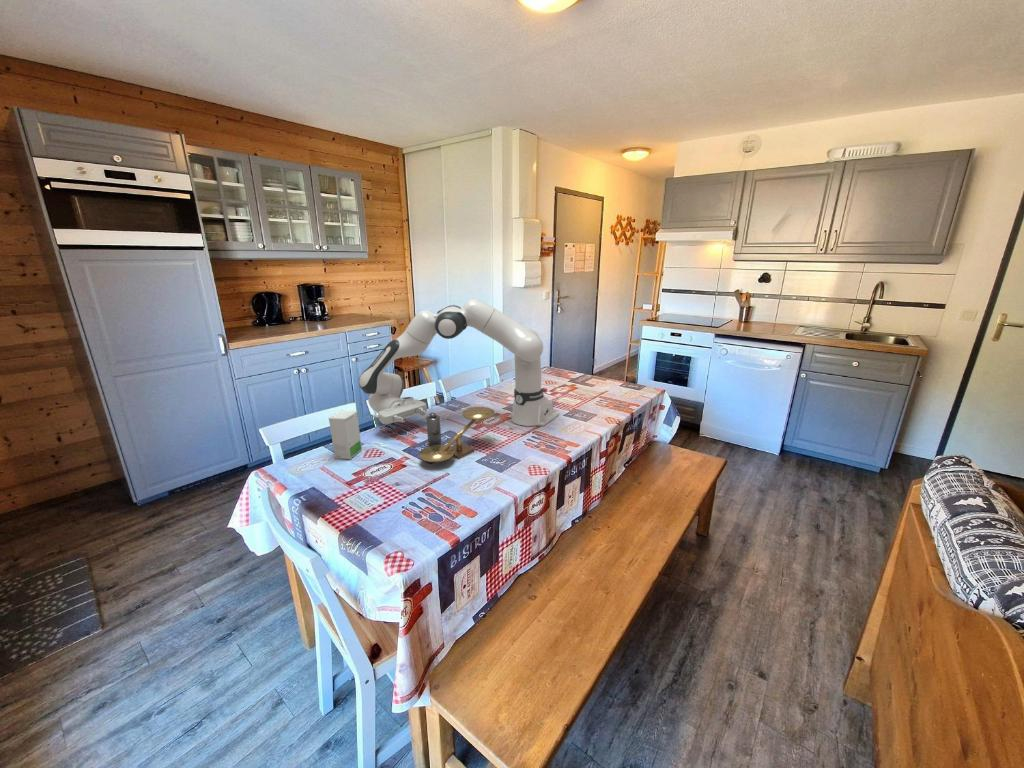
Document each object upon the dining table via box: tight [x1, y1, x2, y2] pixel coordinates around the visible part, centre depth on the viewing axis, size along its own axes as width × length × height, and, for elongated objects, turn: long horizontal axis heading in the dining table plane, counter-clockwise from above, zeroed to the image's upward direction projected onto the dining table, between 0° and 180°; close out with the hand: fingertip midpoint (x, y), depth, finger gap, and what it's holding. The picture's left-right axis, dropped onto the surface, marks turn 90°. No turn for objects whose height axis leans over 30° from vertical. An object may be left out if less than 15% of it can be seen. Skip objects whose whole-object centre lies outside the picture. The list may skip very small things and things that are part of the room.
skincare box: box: [328, 410, 363, 460], centre depth 146 cm, size 8×7×16 cm
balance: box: [418, 406, 495, 463], centre depth 148 cm, size 32×12×13 cm, turn 138°
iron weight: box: [425, 412, 442, 447], centre depth 154 cm, size 5×5×12 cm
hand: (414, 416), depth 161 cm, fingers open, 8 cm apart
